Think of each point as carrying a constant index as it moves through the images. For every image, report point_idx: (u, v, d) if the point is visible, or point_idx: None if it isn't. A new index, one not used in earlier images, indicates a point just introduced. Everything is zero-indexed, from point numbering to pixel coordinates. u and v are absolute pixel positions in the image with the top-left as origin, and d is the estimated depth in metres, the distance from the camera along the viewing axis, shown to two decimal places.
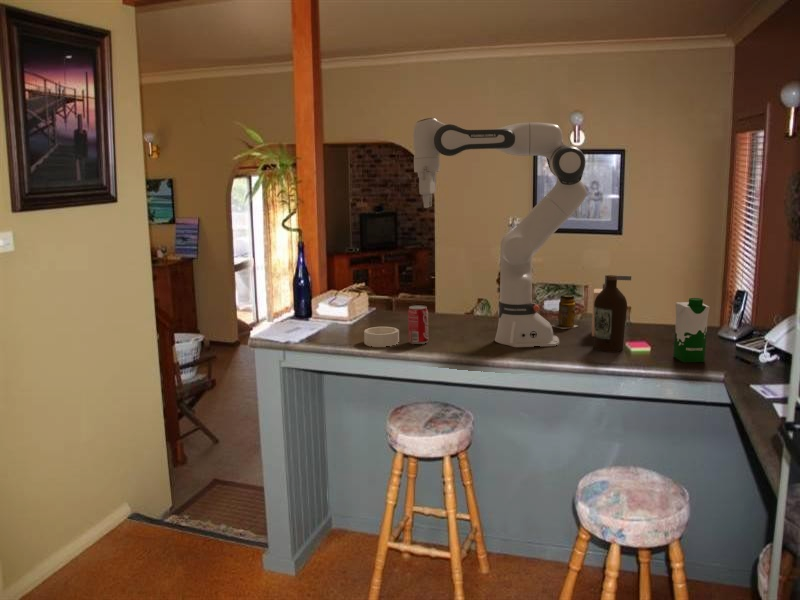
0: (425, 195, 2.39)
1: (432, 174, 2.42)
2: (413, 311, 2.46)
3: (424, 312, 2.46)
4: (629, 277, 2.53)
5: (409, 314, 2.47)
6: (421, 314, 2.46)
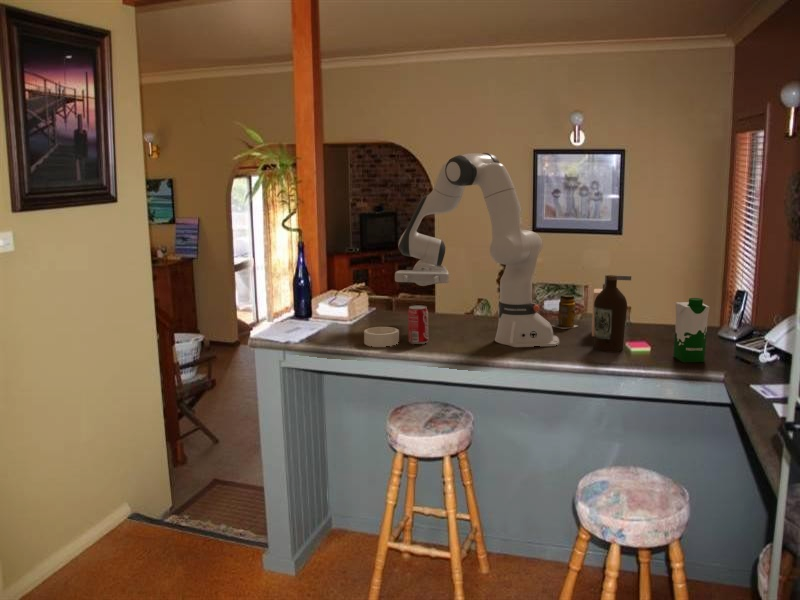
0: (403, 278, 2.63)
1: (416, 269, 2.69)
2: (413, 311, 2.46)
3: (424, 312, 2.46)
4: (629, 277, 2.53)
5: (409, 314, 2.47)
6: (421, 314, 2.46)
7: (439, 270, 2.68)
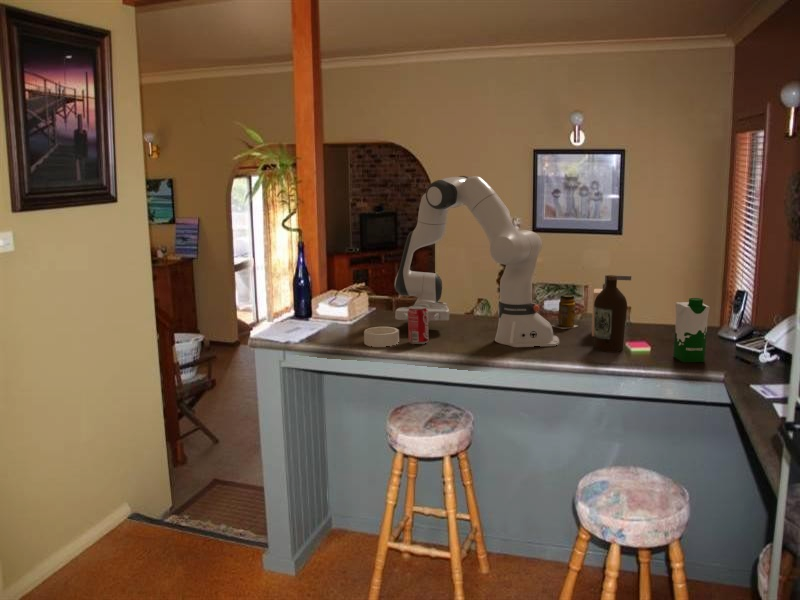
0: None
1: None
2: (413, 311, 2.46)
3: (424, 312, 2.46)
4: (629, 277, 2.53)
5: (409, 314, 2.47)
6: (421, 314, 2.46)
7: (440, 307, 2.67)
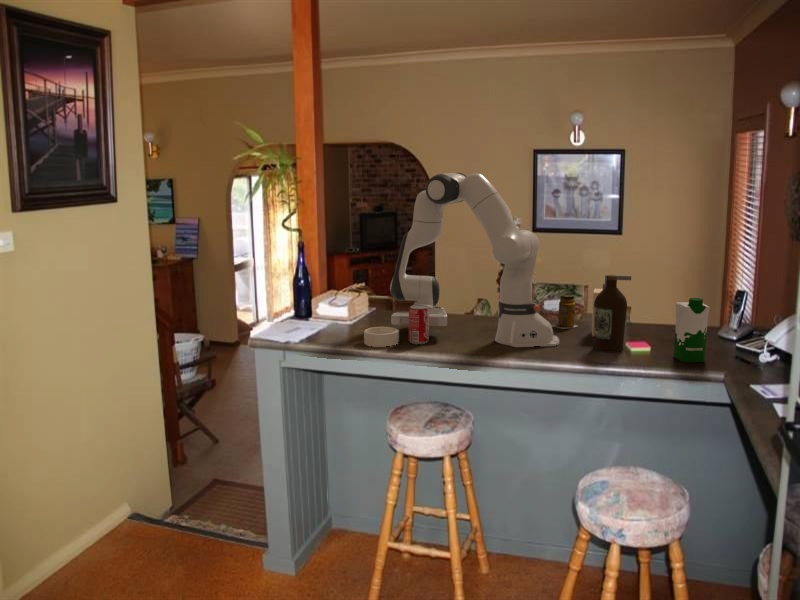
0: None
1: None
2: (414, 311, 2.46)
3: (425, 312, 2.46)
4: (629, 277, 2.53)
5: (410, 314, 2.47)
6: (421, 314, 2.45)
7: (437, 312, 2.58)
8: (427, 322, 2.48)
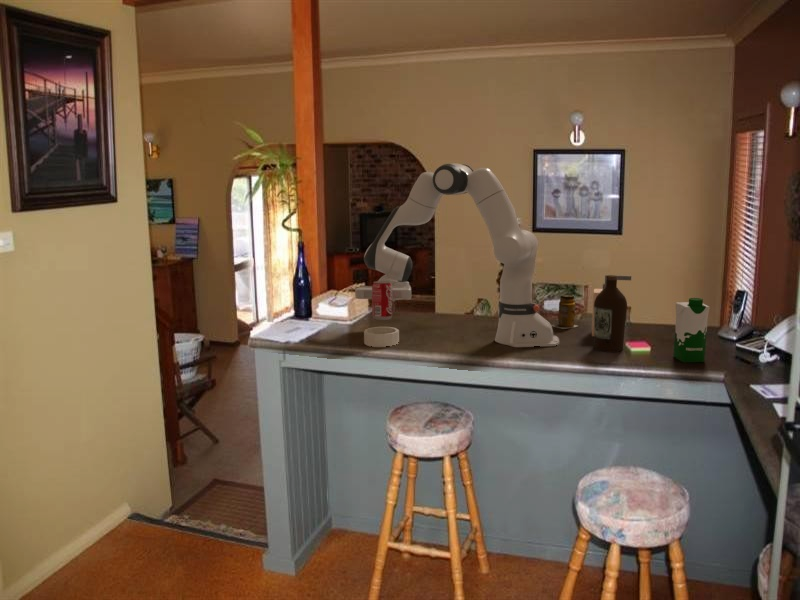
0: None
1: None
2: (377, 285, 2.45)
3: (388, 287, 2.45)
4: (629, 277, 2.53)
5: (373, 288, 2.46)
6: (384, 288, 2.44)
7: (402, 286, 2.57)
8: (390, 297, 2.46)
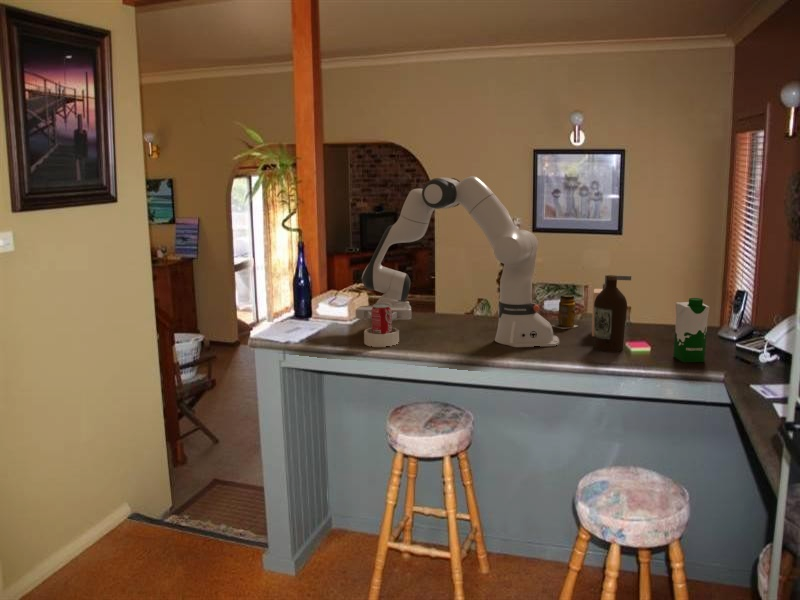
0: (368, 314, 2.54)
1: None
2: (376, 310, 2.45)
3: (387, 311, 2.45)
4: (629, 277, 2.53)
5: (372, 312, 2.46)
6: (383, 313, 2.44)
7: (402, 305, 2.58)
8: (389, 321, 2.47)
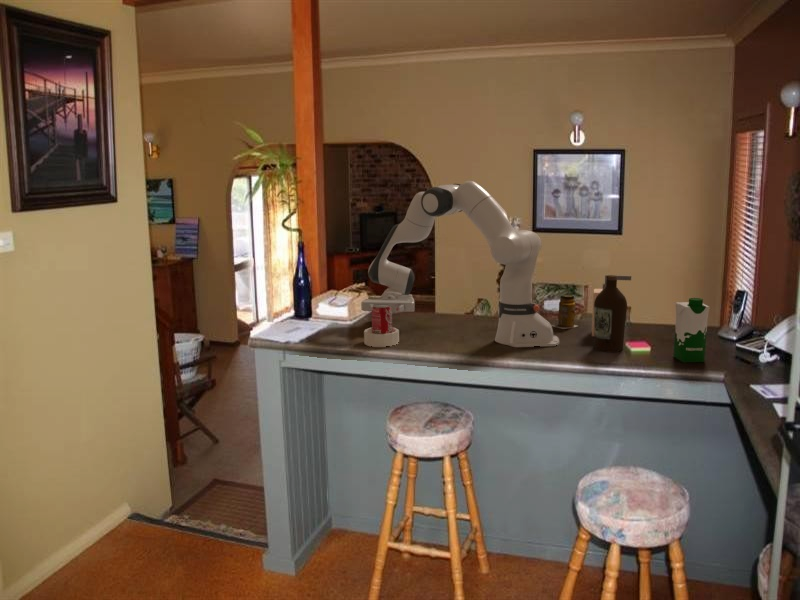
0: (370, 307, 2.66)
1: (383, 298, 2.72)
2: (376, 310, 2.45)
3: (387, 311, 2.45)
4: (629, 277, 2.53)
5: (372, 312, 2.47)
6: (383, 312, 2.45)
7: (405, 298, 2.71)
8: (389, 321, 2.47)
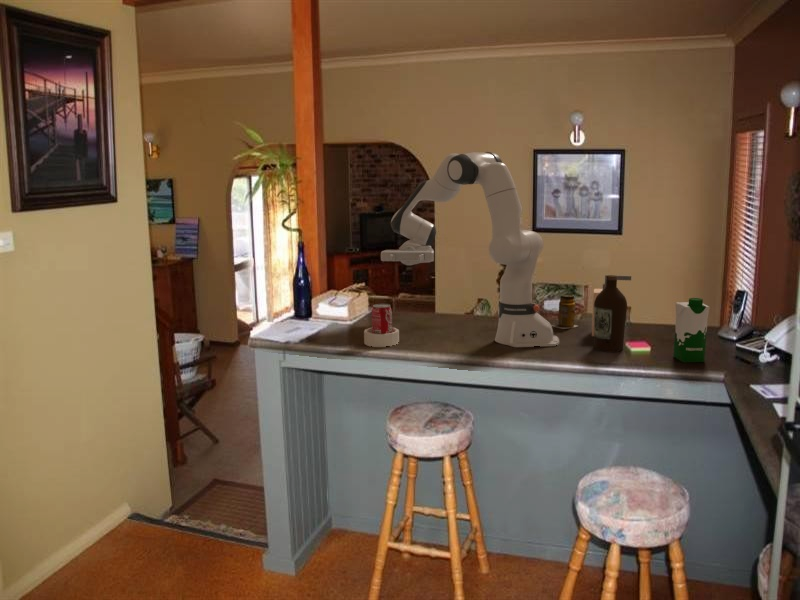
0: None
1: (402, 249, 2.73)
2: (376, 310, 2.45)
3: (387, 311, 2.45)
4: (629, 277, 2.53)
5: (372, 312, 2.47)
6: (383, 312, 2.45)
7: (425, 249, 2.71)
8: (389, 321, 2.47)
